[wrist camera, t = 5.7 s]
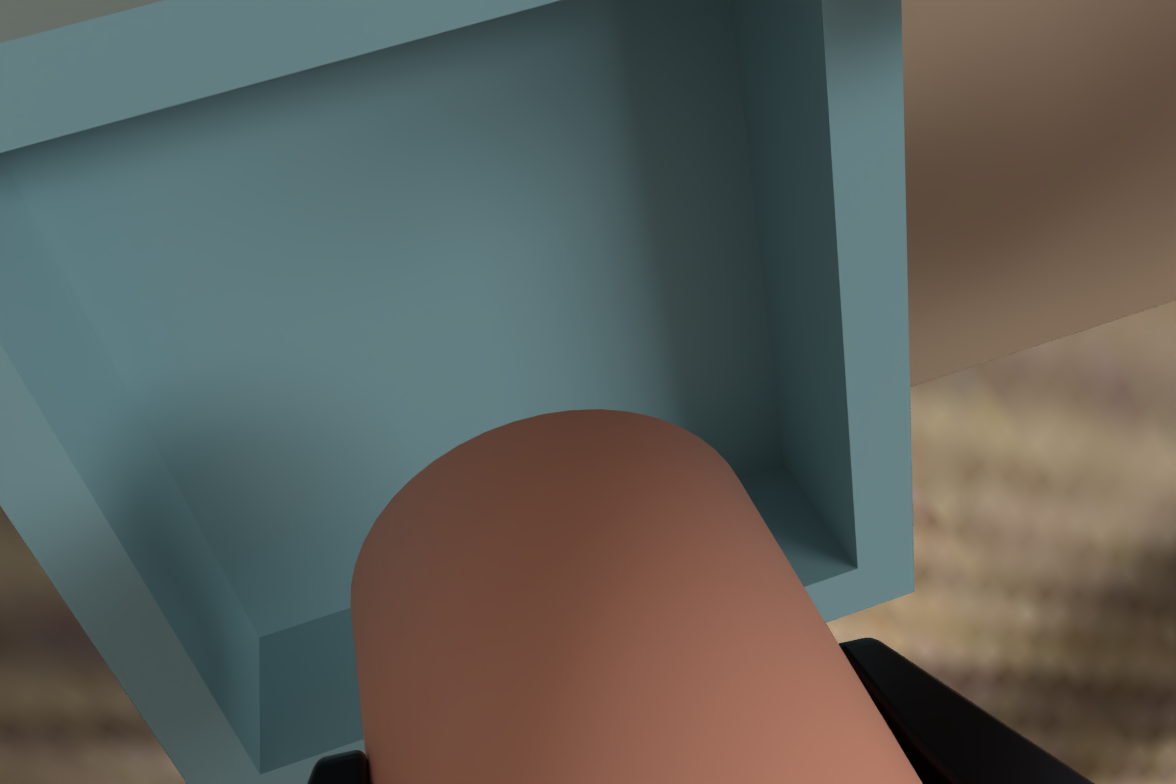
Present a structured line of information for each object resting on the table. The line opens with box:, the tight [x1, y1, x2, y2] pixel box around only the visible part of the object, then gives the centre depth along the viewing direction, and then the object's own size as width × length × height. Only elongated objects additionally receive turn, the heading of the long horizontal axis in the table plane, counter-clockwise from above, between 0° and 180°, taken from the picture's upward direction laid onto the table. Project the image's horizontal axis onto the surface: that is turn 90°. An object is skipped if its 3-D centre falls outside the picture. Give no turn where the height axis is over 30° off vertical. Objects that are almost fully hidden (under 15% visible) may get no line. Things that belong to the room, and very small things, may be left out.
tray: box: [0, 0, 914, 784], centre depth 16 cm, size 12×12×4 cm
